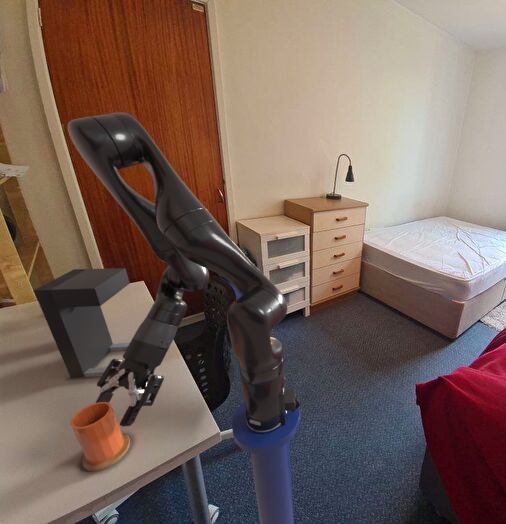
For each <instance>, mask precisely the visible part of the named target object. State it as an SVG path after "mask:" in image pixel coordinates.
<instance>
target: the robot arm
mask: <svg viewBox="0 0 506 524" xmlns="http://www.w3.org/2000/svg"><path fill="white" fill-rule="evenodd" d="M67 132H68V135H69V137H70V140H71V142H72V144H73V145H74V146H75V149H76V150H77V152H78V153H79V155H80V156H81V158H82V159H83V161H84V162H85V163H86V165H87V166H88V167H89V168H90V170H91V171H92V172H93V174H94V175H95V176H96V178H98V179H99V181H100V182H101V183H102V185H103V186H104V187H105V189H106V190H107V191H108V192H109V194H110V195H111V196H112V198H113V199H114V201H116V202H117V203H118V205H119V206H120V208H122V210H123V211H124V212H125V213H126V214H127V216H128V217H129V218H130V219H131V220H132V222H133V223H134V225H135V226H136V227H137V229H138V230H139V232H140V233H141V234H142V236H143V237H144V239H145V241H146V242H147V244H148V246H149V247H150V249H151V250H152V252H153V254H154V255H155V256H156V258H157V259H158V260H160V261H162V262H163V263H166V264H167V265H168V266H167V267H166V268H165V270H164V271H163V273H162V275H161V278H160V281H159V285H158V288H157V292H156V297H155V301H154V302H153V304H152V305H151V307H150V309H149V311H148V313H147V314H146V317H145V318H144V319H143V320H142V321H141V323H140V325H139V327H138V328H137V330H136V331H135V333H134V334H133V336H132V338H131V340H130V342H129V343H130V344H129V346H128V347H127V349H126V350H124V352H123V355H122V358H123V359H117V358H112V359H111V360H110V361H109V363H108V364H107V366H106V367H107V368H106V370H105V372H104V373H103V375H102V376H100V378H99V379H98V381H97V383H96V387H99V388H100V394H99V395H98V397H97V399H96V400H95V402H94V404H95V403H98V402H108V403H110V401H111V400H112V398H113V396H114V393H115V392H116V391H118V390H119V389H120V388H122V387H123V388H124V389H125V390H128V395H129V397H130V405H128V407H127V408H126V410H125V413H124V414H123V416H122V418H121V420H120V422H119V427H120V426H121V427H123V428H125V427H130V426H132V424H134V423H135V421H136V419H137V417H138V415H139V413H140V411H141V409H142V408H143V407H150V406H151V407H152V406H153V404H154V402H155V400H156V399H157V396H158V394H159V392H160V389H161V387H162V385H163V382H164V380H165V376H164V375H158V374H155V370H156V368H157V367H159V366H161V364H162V363H163V361H164V359H165V357H166V355H167V353H168V351H169V349H170V347H171V345H172V343H173V342H174V339H175V337H176V335H177V331H178V330H179V327H180V324H181V323H182V321H183V319H184V317H185V315H186V313H187V311H188V304H187V303H186V302H185V301H184V300H183V297H184V293H185V292H191V293H197V292H200V291H202V290H204V289H206V287H207V286H208V284H209V281H210V273H209V271H211V272H213V273H216V274H217V275H220V276H221V277H223V278H224V279H226V280H227V281H228V282H229V283H231V285H233V286H234V288H235V289H236V290H237V291H238V292H239V294H240V295H241V296H240V297H239V298H237V299H236V300H234V301H233V302H232V303H230V305H229V306H228V308H227V312H226V325H227V331H228V334H229V338H230V344H231V348H232V351H233V355H235V357H236V359H237V361H238V367H239V374H240V382H241V389H242V397H243V402H244V405H245V412H246V423H247V426H248V428H249V429H250V430H251V431H253V432H255V433H258V434H265V433H270V432H272V431H274V430H276V429H278V428H279V427H280V426H282V425H286V417H287V410H292V411H293V412H294V411H295V410H296V409H297V408H299V407H301V400H300V399H299V398H298V397H297V395H296V388H287V377H286V374H285V367H284V366H285V364H284V349H283V345H282V343H281V341H280V340H279V339H277V338H276V337H273V336H271V332H272V331H273V330H274V329H275V328H276V327H277V326H278V325H279V324H280V323H281V322H282V320H284V318H285V317H286V315H287V313H288V303H287V301H286V298H285V296H284V295H283V293H282V291H280V289H279V288H278V287H277V286H276V285H275V284H274V283H273V282H272V281H271V280H270V279H269V278H268V277H267V276H266V275H265V274H264V273H263V272H262V271H261V270H260V269H259V268H258V267H257V266H256V265H255V264H254V263H253V262H252V261H251V260H250V259H249V257H247V255H245V253H244V252H243V250H241V249H240V248H239V246H238V245H237V244H236V243H235V242H234V241H233V240H232V238H230V236H229V235H228V234H227V233H226V231H225V230H224V229H223V227H222V226H221V225H220V223H219V222H218V221H217V219H216V218H215V217H214V216H213V215H212V213H210V212H209V210H208V209H207V208H206V207H205V206H204V204H203V203H202V202H201V201H200V200H199V198H198V197H197V196H196V195H195V194H194V193H193V192H192V191H191V189H190V188H189V187H188V185H187V184H186V183H185V182H184V181H183V180H182V178H181V177H180V176H179V174H177V172H176V170H175V169H174V167H173V166H172V165H171V164H170V162H169V161H168V159H167V158H166V157H165V154H163V152H162V151H161V149H160V148H159V146H158V145H157V144H156V142H155V140H153V138H152V136H151V135H150V133H148V131H147V129H146V128H145V127H144V126H143V125H142V124H141V123H140V121H138V119H136V118H135V117H134V116H133V115H132V114H130V113H127V112H124V111H123V112H120V111H119V112H110V113H104V114H98V115H91V116H85V117H84V116H83V117H79V118H75V119H71V120H70V121H69V122H68V123H67ZM136 165H142V166H143V167H144V168H145V169H146V170H147V171H148V173H149V175H150V176H151V178H152V182H153V188H154V203H153V202H152V201H150V200H149V199H147V198H145V197H144V196H143V195H141V194H140V193H138V192H137V191H136V190H134V189H133V188H131V186H130V185H128V183H127V182H126V181H125V180H124V178H122V176H121V174H120V173H119V171H120V170H122V169H126V168H129V167H134V166H136ZM108 377H109V378H108ZM295 402H296V403H297V404H296V405H295Z"/></svg>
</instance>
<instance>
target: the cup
mask: <svg viewBox="0 0 506 524" xmlns="http://www.w3.org/2000/svg"><path fill="white" fill-rule="evenodd" d="M70 426H71V429H72V431H73V433H74V436H75V437H76V440H77V442H78V444H79V446H80V448H81V450H82V453H83V456H84V455H85V457H86V459H87V461H88V462H89V463H90V464H99V463H102V462H105V461H107V460H109V459H110V458H112V457H113V456H115V455H116V454H117V453H118V452H119V451H120V450H121V448H122V446H123V444H124V438H123V435H122V433H123V432H122V430H121V427H120V423H119V422H118V419H117V417H116V414H115V411H114V409H113V406H112V404H111V403H110V402H109V403H108V402H98V403H95V402H94V403H91V404H89V405H88V406H87V405H86V406H85V407H84V408H82V409H80V410H79V411H78V412H76V414H75V415H74V416H73V417H72V418H71V421H70Z"/></svg>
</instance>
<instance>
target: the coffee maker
mask: <svg viewBox="0 0 506 524" xmlns="http://www.w3.org/2000/svg"><path fill="white" fill-rule="evenodd" d="M126 269H127V268H126V267H119V268H118V267H115V268H113V267H112V268H111V267H110V268H76V269H75V268H74V269H72V270H69V271H68V272H66V273H64V274H61V276H58V277H57V278H54V279H53V280H51V281H49V282H47V283H45V284H43V285H41V286H39V287H38V288H36V289H33V293H34V295H35V297H36V300H37V303H38V304H39V307H40V309H41V312H42V314H43V316H44V319H45V321H46V323H47V325H48V329H49V330H50V333H51V336H52V337H53V340H54V342H55V344H56V347H57V350H58V352H59V354H60V356H61V359H62V361H63V364H64V367H65V368H66V370H67V373H68V376H69V377H70V379H75V378H90V377H101V376H102V375H103V373H104V372H105V370H106V368H107V367H108V366H105V367H96V366H97V365H98V364H99V363H100V362H101V361H102V360H103V359H104V358H105V357H106V356H107V355H108V354H109V353H110V352H112V351H113V352H114V351H126V349H127V347H128V346H129V344H130V342H122V343H121V342H119V343H113V340H112V336H111V334H110V331H109V328H108V325H107V322H106V319H105V315H104V313H103V310H102V307H101V306H103V305H105V303H107V302H108V301H109V300H110V299H112V298H113V297H115V296H116V295H117V294H118V293H120V291H122V290H124V289H125V288H126V287H128V286H129V285H130V279H129V276H128V272H127V270H126Z"/></svg>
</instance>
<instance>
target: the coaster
mask: <svg viewBox="0 0 506 524" xmlns="http://www.w3.org/2000/svg"><path fill="white" fill-rule="evenodd" d="M121 433H122V435H123V438H124V444H123V446H122V448H121V450H120V451H119V452H118V453H117V454H116V455H115V456H113V457H112V458H110V459H109V460H107V461H105V462H102V463H99V464H90V463H89V462H88V461H87V459H86V457H85V455H84V454H83V457H82V462H81V463H82V466H83V468H84V470H86V471H88V472H98V471H103V470H105V469H107V468H109V467H111V466H112V465H114V464H115V463H117V462H118V461H120V460H121V459H122V458H123V457H124V456H125V455H126V453H128V450H129V448H130V446H131V439H130V437H129V435H127V434H126V433H123V432H121Z"/></svg>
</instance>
